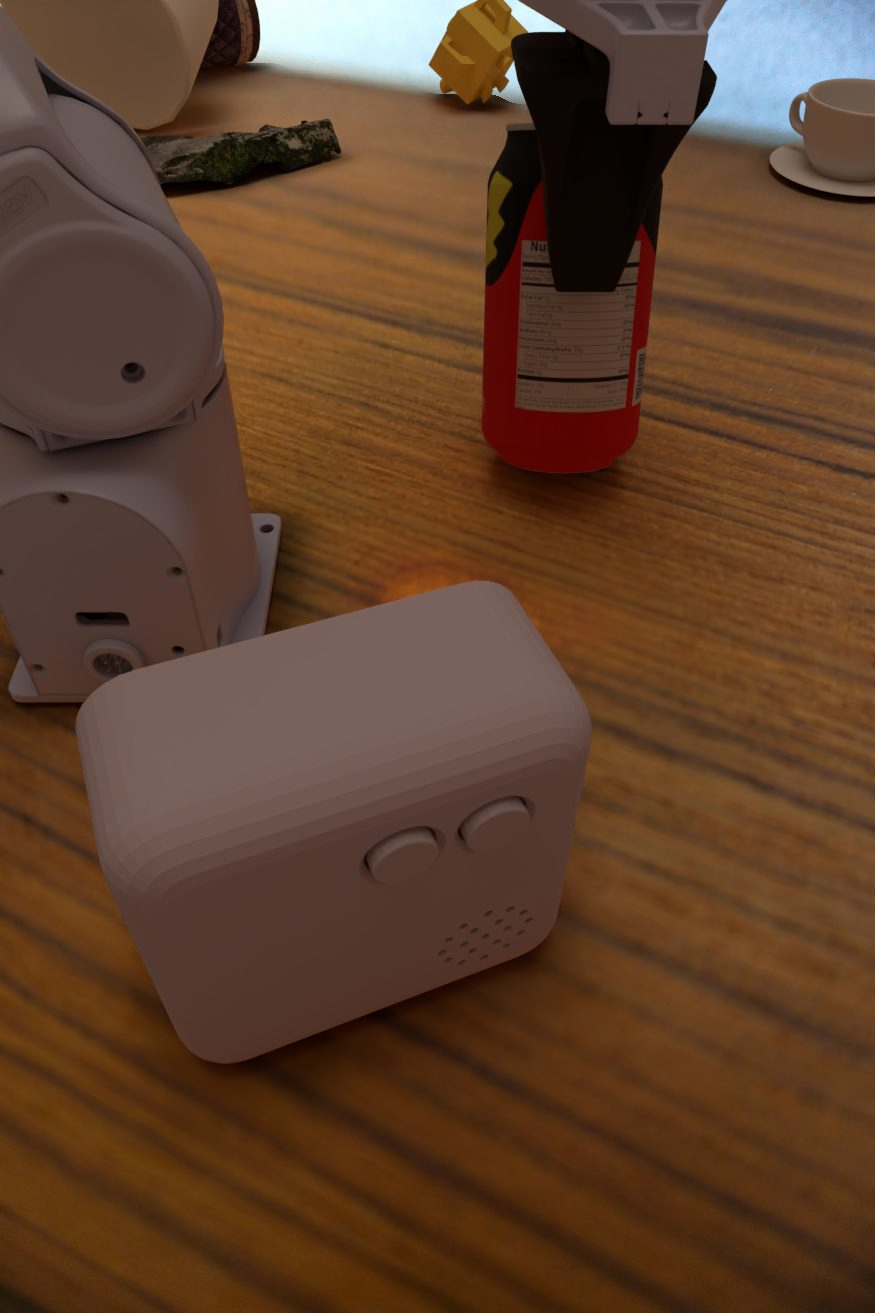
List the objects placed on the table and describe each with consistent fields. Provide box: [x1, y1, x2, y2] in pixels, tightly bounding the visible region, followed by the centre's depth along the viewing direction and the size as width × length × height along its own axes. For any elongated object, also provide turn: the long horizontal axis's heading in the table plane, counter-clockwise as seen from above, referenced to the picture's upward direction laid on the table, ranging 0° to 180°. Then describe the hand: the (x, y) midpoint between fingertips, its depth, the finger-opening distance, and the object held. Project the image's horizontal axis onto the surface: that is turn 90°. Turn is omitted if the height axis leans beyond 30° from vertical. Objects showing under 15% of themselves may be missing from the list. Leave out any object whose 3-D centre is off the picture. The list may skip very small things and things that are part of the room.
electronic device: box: [74, 580, 593, 1065], centre depth 22 cm, size 10×5×10 cm, turn 112°
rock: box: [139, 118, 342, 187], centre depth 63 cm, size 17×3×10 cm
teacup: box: [769, 77, 875, 197], centre depth 62 cm, size 10×10×5 cm
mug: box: [198, 0, 261, 72], centre depth 77 cm, size 10×7×12 cm
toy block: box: [428, 0, 530, 105], centre depth 72 cm, size 8×8×6 cm
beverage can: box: [481, 122, 664, 474], centre depth 37 cm, size 6×6×12 cm
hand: (583, 283), depth 33 cm, fingers closed
